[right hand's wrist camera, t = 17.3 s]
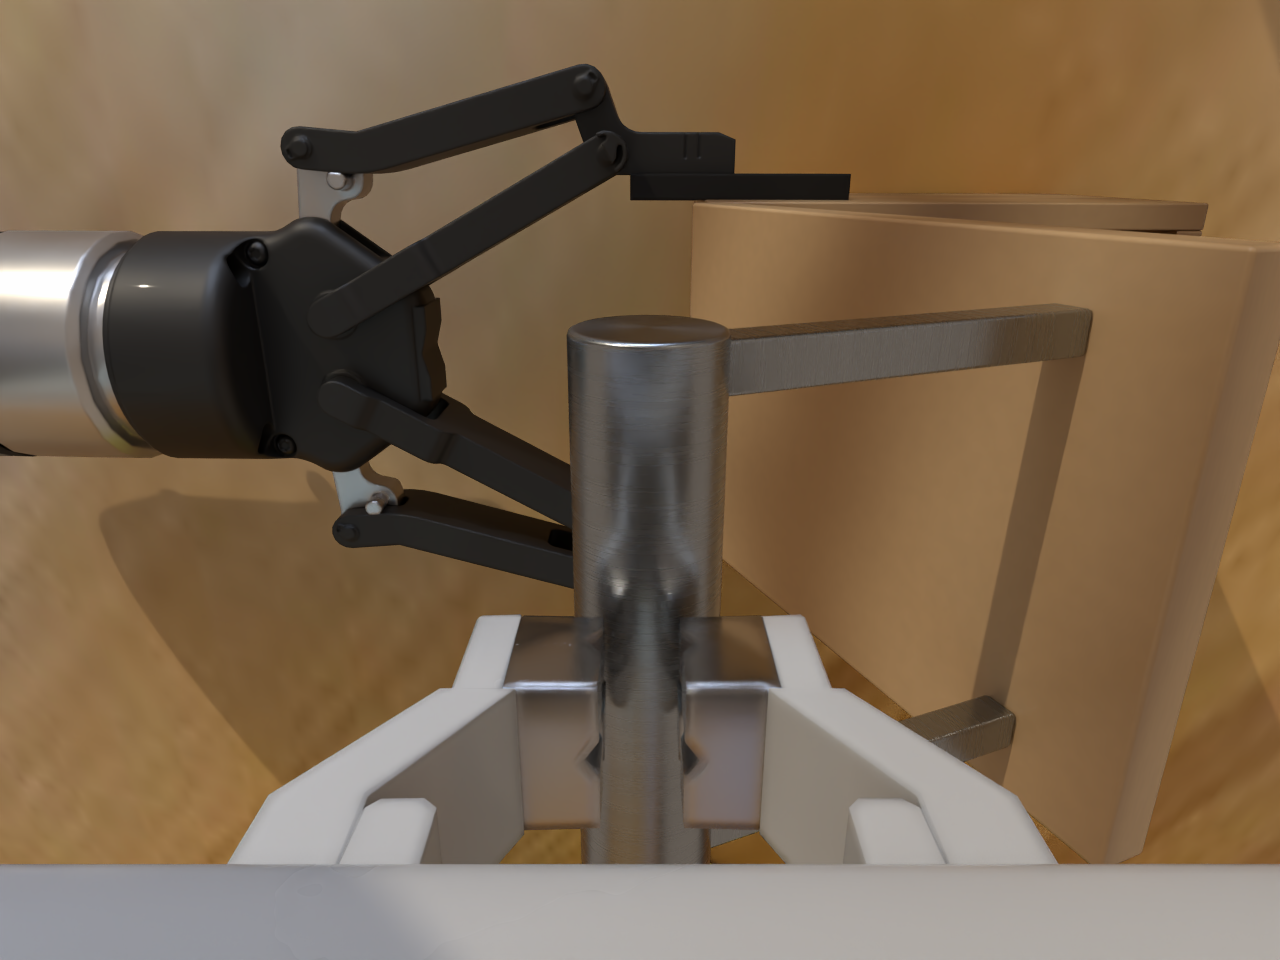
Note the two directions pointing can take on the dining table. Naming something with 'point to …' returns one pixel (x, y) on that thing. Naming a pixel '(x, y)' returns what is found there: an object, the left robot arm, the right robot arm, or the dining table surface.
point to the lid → (925, 489)
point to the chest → (1022, 210)
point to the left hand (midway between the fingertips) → (827, 351)
